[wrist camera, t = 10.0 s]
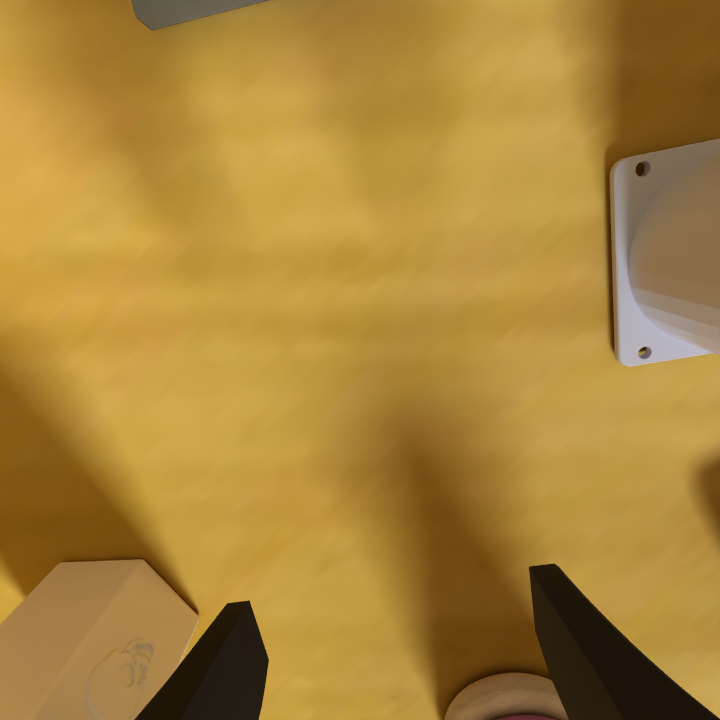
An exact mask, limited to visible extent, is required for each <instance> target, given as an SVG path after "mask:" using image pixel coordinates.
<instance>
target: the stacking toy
mask: <svg viewBox="0 0 720 720" xmlns="http://www.w3.org/2000/svg"><path fill="white" fill-rule="evenodd" d="M444 720H569V719H568V717H567V714H566V712H565V710H564V707H563V705H562V703H561V700H560V698H559V696H558V693H557V691H556V689H555V686H554V684H553V682H552V680H550V679H548V678H544V677H541V676H538V675H533V674H527V673H503V674H497V675H492V676H489V677H486V678H483V679H480V680H478V681H476V682H474V683H472V684H470V685H469V686H467V687H466V688H464V689H463V690H462V691H461V692H460V693H459V694H458V695H457V696H456V697H455V698H454V699H453V701H452V702H451V704H450V706H449V707H448V710H447V712H446V715H445V718H444Z"/></svg>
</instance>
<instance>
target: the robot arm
mask: <svg viewBox="0 0 720 720" xmlns="http://www.w3.org/2000/svg"><path fill="white" fill-rule="evenodd" d="M638 163H642V164H643V165H644V168H645V169H644V173H643V174H642V175H641V176H640V177H639V176H638V175H637V174H636V171H635V170H636V166H637V165H638ZM610 208H611V241H612V274H613V308H614V341H615V357H616V359H617V361H618V362H620V363H621V364H623V365H625V366H636V365H642V364H648V363H654V362H661V361H667V360H673V359H679V358H686V357H692V356H698V355H704V354H711V353H715V354H718V355H720V138H719V139H714V140H709V141H705V142H700V143H695V144H690V145H685V146H680V147H675V148H670V149H665V150H660V151H656V152H651V153H646V154H641V155H636V156H631V157H626V158H623V159H621V160H618V161H617V162H616V163H615V164H614V165H613V166H612V168H611V170H610ZM642 347H646V352H645V353H644V354H643V355H642V356H638V352H639V350H640V349H641V348H642ZM529 572H530V582H531V592H532V602H533V611H534V621H535V631H536V634H537V637H538V640H539V643H540V647H541V650H542V653H543V656H544V659H545V662H546V665H547V668H548V671H549V674H550V677H551V679H552V682H553V684H554V686H555V689H556V691H557V693H558V696H559V698H560V700H561V703H562V705H563V707H564V710H565V712H566V714H567V717H568V719H569V720H720V719H719V718H718V717H717V716H716V715H714V714H713V713H712V712H711V711H709V710H708V709H707V708H706V707H704V706H703V705H702V704H701V703H699V702H698V701H697V700H696V699H694V698H693V697H692V696H691V695H690V694H688V693H687V692H686V691H685V690H684V689H682V688H681V687H680V686H679V685H678V684H677V683H675V682H674V681H673V680H672V679H671V678H670V677H668V676H667V675H666V674H665V673H664V672H663V671H662V670H661V669H660V668H658V667H657V666H656V665H655V664H654V663H653V662H652V661H651V660H649V659H648V658H647V657H646V656H645V655H644V654H643V653H642V652H641V651H640V650H639V649H638V648H636V647H635V646H634V645H633V644H632V643H631V642H630V641H629V640H628V639H627V638H626V637H625V636H624V635H623V634H622V633H621V632H620V631H619V630H618V629H617V628H616V627H615V626H614V625H613V624H612V623H611V622H610V621H609V620H608V619H607V618H606V617H605V616H604V615H603V614H602V613H601V612H600V611H599V610H598V609H597V608H596V607H595V606H594V605H593V604H592V603H591V602H590V601H589V600H588V599H587V598H586V597H585V596H584V595H583V593H582V592H581V591H580V590H579V589H578V588H577V587H576V586H575V585H574V584H573V582H572V581H571V580H570V579H569V578H568V577H567V576H566V575H565V573H564V572H563V571H562V570H561V569H560V568H559V567H558V566H557V565H556V564H547V565H539V566H531V567H529ZM268 662H269V659H268V656H267V653H266V650H265V647H264V644H263V641H262V638H261V634H260V631H259V628H258V625H257V622H256V619H255V616H254V613H253V610H252V607H251V604H250V601H242V602H234V603H227V605H226V606H225V607H224V608H223V610H222V611H221V612H220V613H219V615H218V616H217V617H216V619H215V620H214V621H213V622H212V624H211V625H210V626H209V628H208V629H207V630H206V631H205V633H204V634H203V635H202V637H201V638H200V639H199V641H198V642H197V643H196V644H195V646H194V647H193V648H192V650H191V651H190V652H189V654H188V655H187V656H186V657H185V659H184V660H183V661H182V662H181V664H180V665H179V666H178V667H177V669H176V670H175V671H174V672H173V674H172V675H171V676H170V678H169V679H168V680H167V681H166V683H165V684H164V685H163V686H162V687H161V689H160V690H159V691H158V692H157V693H156V694H155V696H154V697H153V698H152V699H151V700H150V701H149V703H148V704H147V705H146V706H145V707H144V709H143V710H142V711H141V712H140V713H139V714H138V716H137V717H136V718H135V719H134V720H258V719H259V715H260V711H261V707H262V701H263V695H264V689H265V683H266V676H267V669H268Z"/></svg>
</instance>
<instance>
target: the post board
mask: <svg viewBox="0 0 720 720" xmlns="http://www.w3.org/2000/svg"><path fill="white" fill-rule="evenodd" d="M264 1H267V0H132V4H133V7H134V11H135V14H136V18H137V19H138V20H140V21H141V22H142V23H143V24H144V25H146V26H147V27H148V28H149V29H150V30H154V29H158V28H162V27H166V26H170V25H174V24H178V23H181V22H185V21H189V20H193V19H197V18H201V17H205V16H209V15H213V14H217V13H221V12H224V11H228V10H232V9H236V8H240V7H244V6H248V5H252V4H256V3H260V2H264Z"/></svg>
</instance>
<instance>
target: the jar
mask: <svg viewBox="0 0 720 720" xmlns="http://www.w3.org/2000/svg"><path fill="white" fill-rule="evenodd" d="M198 623H199V616H198V615H197V614H196V613H195V612H194V611H193V610H192V609H191V608H190V607H189V606H188V605H187V604H186V603H185V602H184V601H183V600H182V598H181V597H180V596H179V595H178V594H177V593H176V592H175V591H174V590H173V589H172V588H171V587H170V586H169V585H168V584H167V583H166V582H165V581H164V580H163V579H162V578H161V577H160V576H159V575H158V574H157V573H156V572H155V571H154V570H153V569H152V567H151V566H150V565H149V564H148V563H147V562H146V561H145V560H143V559H132V560H105V561H78V562H61V563H59V564H57V565H56V566H55V567H54V568H53V569H52V570H51V572H50V573H49V574H48V575H47V576H46V577H45V578H44V579H43V580H42V581H41V582H40V583H39V584H38V585H37V586H36V587H35V588H34V589H33V591H32V592H31V593H30V594H29V595H28V596H27V597H26V598H25V599H24V600H23V601H22V602H21V603H20V604H19V605H18V606H17V607H16V608H15V610H14V611H13V612H12V613H11V614H10V615H9V616H8V617H7V618H6V619H5V620H4V621H3V622H2V623H1V624H0V720H134V719H135V718H136V717H137V716H138V714H139V713H140V712H141V711H142V710H143V709H144V707H145V706H146V705H147V704H148V703H149V701H150V700H151V699H152V698H153V697H154V696H155V694H156V693H157V692H158V691H159V690H160V689H161V687H162V686H163V685H164V684H165V683H166V681H167V680H168V679H169V678H170V676H171V675H172V674H173V672H174V671H175V670H176V669H177V667H178V666H179V664H180V662H181V660H182V658H183V656H184V653H185V651H186V649H187V647H188V645H189V642H190V640H191V638H192V636H193V634H194V631H195V629H196V627H197V625H198Z"/></svg>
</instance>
